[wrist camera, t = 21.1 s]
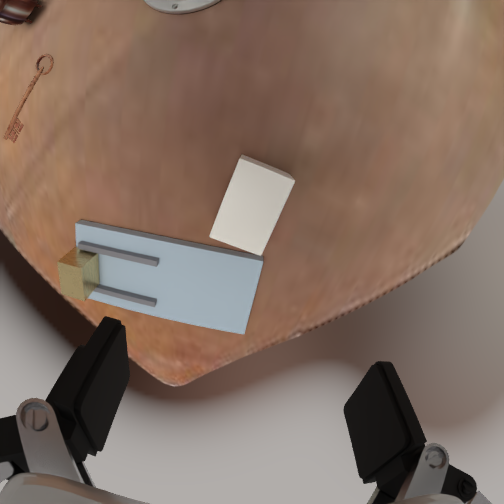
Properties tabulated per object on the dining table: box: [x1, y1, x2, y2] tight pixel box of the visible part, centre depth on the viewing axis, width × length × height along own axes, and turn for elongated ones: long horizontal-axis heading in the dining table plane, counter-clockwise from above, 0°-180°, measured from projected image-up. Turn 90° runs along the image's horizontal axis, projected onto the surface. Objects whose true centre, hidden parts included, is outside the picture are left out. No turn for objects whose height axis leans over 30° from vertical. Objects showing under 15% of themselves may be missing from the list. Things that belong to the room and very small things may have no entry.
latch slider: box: [57, 247, 100, 301], centre depth 33 cm, size 5×4×5 cm
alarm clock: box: [0, 0, 41, 25], centre depth 13 cm, size 11×5×15 cm, turn 45°
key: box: [4, 54, 54, 143], centre depth 27 cm, size 6×1×15 cm
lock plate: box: [75, 220, 263, 334], centre depth 37 cm, size 12×26×2 cm, turn 78°
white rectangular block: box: [209, 155, 295, 256], centre depth 32 cm, size 9×6×5 cm, turn 158°
